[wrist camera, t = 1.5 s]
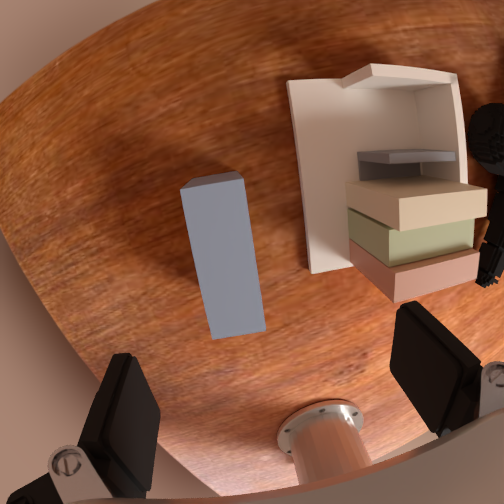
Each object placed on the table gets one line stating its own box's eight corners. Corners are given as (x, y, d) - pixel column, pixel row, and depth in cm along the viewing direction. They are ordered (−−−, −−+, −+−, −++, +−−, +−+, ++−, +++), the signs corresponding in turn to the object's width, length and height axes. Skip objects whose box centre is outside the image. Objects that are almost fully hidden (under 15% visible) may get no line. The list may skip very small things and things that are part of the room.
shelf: (425, 247, 31) (486, 283, 21) (308, 270, 31) (347, 324, 21) (414, 83, 25) (482, 68, 16) (286, 82, 25) (321, 47, 15)
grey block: (236, 170, 27) (243, 178, 19) (254, 284, 31) (266, 330, 23) (192, 178, 27) (179, 189, 19) (214, 290, 30) (212, 339, 22)
